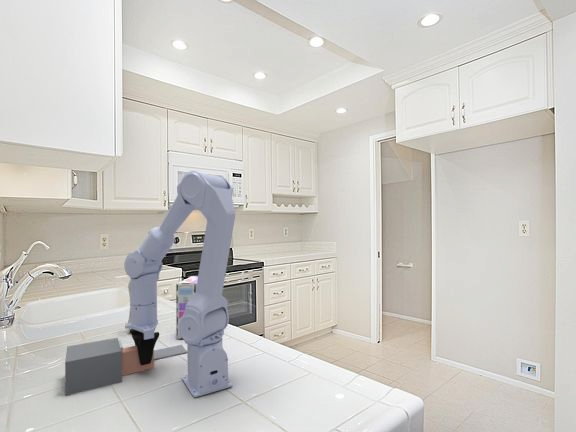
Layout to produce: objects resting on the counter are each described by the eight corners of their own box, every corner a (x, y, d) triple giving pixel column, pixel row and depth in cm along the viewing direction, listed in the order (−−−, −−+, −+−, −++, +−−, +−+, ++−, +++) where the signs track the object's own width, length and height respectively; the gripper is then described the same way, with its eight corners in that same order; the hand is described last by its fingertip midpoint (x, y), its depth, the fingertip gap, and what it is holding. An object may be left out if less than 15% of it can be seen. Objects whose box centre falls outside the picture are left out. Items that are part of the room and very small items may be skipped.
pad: (187, 352, 85) (187, 351, 85) (127, 366, 78) (127, 364, 78) (181, 345, 91) (181, 344, 91) (125, 357, 83) (125, 356, 83)
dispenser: (124, 381, 70) (123, 350, 71) (65, 395, 65) (65, 362, 65) (119, 364, 79) (119, 337, 79) (67, 375, 73) (67, 346, 74)
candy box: (195, 339, 95) (195, 282, 96) (175, 339, 95) (175, 282, 96) (208, 325, 109) (207, 275, 109) (190, 325, 109) (190, 275, 110)
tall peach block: (153, 367, 77) (153, 346, 77) (99, 381, 71) (99, 357, 71) (150, 363, 79) (150, 342, 80) (98, 375, 73) (98, 353, 73)
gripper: (121, 299, 82) (122, 354, 81) (128, 312, 69) (129, 377, 69) (152, 295, 85) (152, 348, 85) (163, 307, 73) (164, 369, 73)
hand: (144, 361), depth 77 cm, fingers closed on tall peach block, 3 cm apart
